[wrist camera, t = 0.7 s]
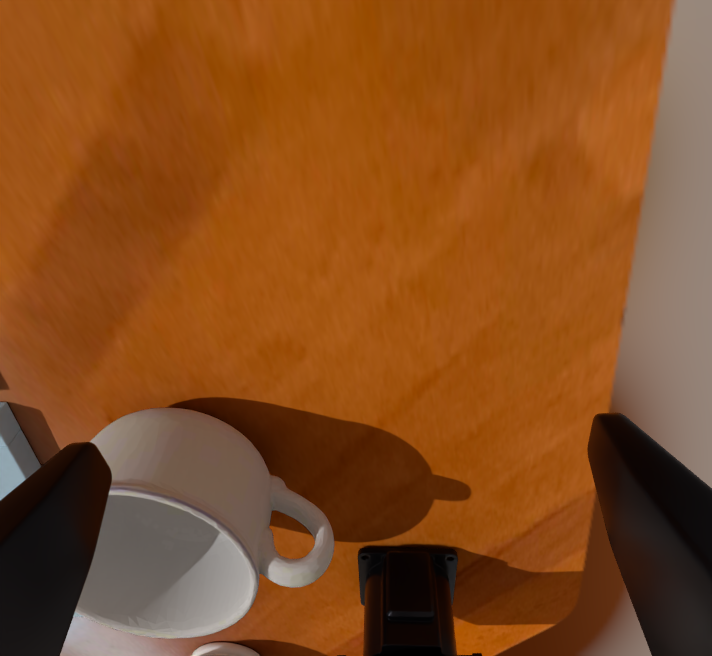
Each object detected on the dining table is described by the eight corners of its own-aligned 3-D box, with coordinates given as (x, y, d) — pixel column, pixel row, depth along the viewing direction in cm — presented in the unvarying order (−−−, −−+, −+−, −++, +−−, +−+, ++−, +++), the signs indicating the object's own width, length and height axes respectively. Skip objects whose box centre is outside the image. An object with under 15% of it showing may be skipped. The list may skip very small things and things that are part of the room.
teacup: (99, 490, 34) (30, 621, 27) (90, 356, 28) (-1, 483, 21) (319, 528, 35) (304, 662, 28) (357, 409, 29) (350, 543, 22)
